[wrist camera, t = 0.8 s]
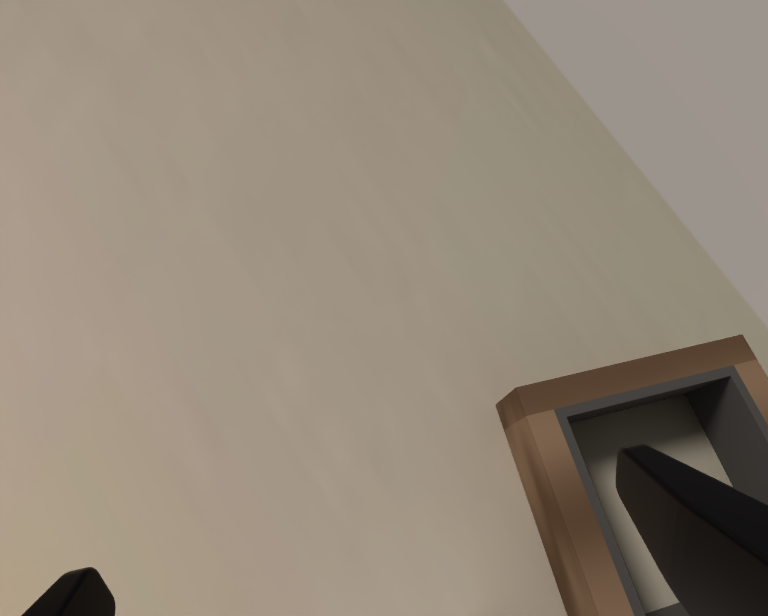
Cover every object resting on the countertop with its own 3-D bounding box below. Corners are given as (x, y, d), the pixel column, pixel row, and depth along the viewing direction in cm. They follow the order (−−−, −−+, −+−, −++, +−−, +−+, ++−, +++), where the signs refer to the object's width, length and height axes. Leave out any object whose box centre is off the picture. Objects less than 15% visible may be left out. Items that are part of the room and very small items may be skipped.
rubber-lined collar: (829, 602, 20) (907, 614, 17) (591, 686, 18) (635, 714, 15) (697, 356, 24) (742, 334, 21) (495, 404, 22) (515, 387, 20)
